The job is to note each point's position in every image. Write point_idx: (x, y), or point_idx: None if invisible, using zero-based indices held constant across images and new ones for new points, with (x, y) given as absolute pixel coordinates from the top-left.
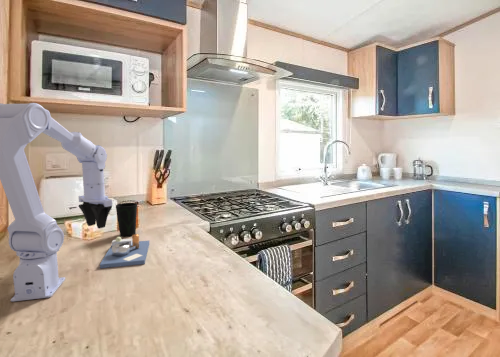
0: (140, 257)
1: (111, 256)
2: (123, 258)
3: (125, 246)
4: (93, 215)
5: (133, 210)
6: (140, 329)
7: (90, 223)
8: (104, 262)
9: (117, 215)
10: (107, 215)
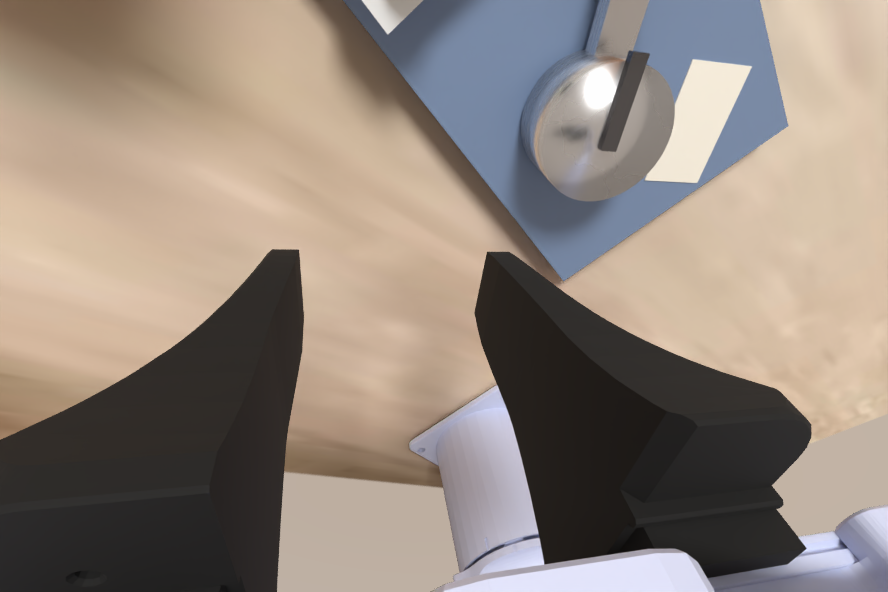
0: (747, 103)
1: (545, 182)
2: None
3: (656, 131)
4: (276, 346)
5: None
6: (865, 390)
7: (300, 318)
8: (571, 257)
9: None
10: (613, 332)
